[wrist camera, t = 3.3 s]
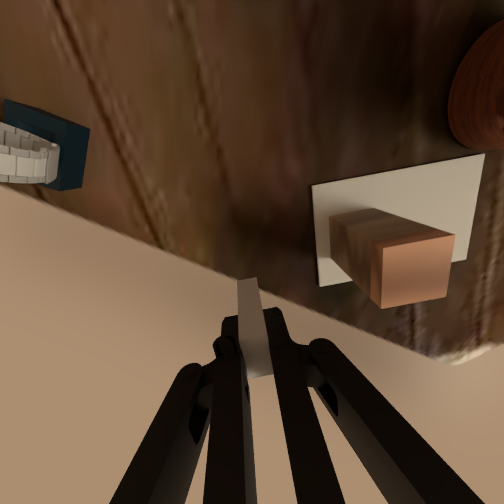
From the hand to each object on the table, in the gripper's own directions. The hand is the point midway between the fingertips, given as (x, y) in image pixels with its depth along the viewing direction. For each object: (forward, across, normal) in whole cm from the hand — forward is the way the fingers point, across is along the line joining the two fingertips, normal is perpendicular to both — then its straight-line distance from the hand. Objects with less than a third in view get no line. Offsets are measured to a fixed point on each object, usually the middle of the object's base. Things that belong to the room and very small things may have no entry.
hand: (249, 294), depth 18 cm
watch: (+9, -15, +14) cm, 22 cm away
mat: (+9, +17, 0) cm, 19 cm away
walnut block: (+8, +12, 0) cm, 15 cm away
